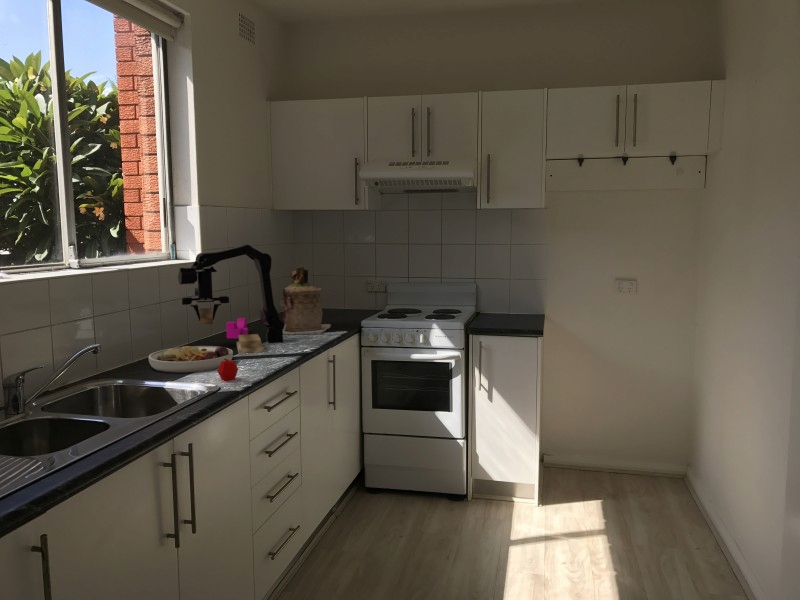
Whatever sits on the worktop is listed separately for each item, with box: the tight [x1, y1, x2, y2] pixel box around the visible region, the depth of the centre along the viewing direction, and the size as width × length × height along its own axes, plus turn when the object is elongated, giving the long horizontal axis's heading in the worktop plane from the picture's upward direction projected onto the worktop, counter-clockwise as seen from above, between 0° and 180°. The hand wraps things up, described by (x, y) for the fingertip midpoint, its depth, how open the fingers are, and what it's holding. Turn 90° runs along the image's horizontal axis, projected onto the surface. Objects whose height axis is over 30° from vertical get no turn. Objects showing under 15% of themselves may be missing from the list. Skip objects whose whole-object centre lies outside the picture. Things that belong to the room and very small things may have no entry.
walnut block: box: [199, 307, 214, 326], centre depth 281 cm, size 5×5×6 cm
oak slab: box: [237, 333, 262, 349], centre depth 280 cm, size 8×16×3 cm, turn 17°
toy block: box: [225, 317, 249, 339], centre depth 315 cm, size 15×6×8 cm, turn 171°
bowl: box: [148, 345, 234, 373], centre depth 251 cm, size 30×30×8 cm
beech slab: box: [236, 341, 265, 355], centre depth 281 cm, size 10×18×3 cm, turn 17°
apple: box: [217, 358, 239, 382], centre depth 226 cm, size 7×7×8 cm
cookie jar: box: [280, 265, 332, 336], centre depth 326 cm, size 25×25×32 cm
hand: (206, 320), depth 281 cm, fingers closed on walnut block, 5 cm apart
